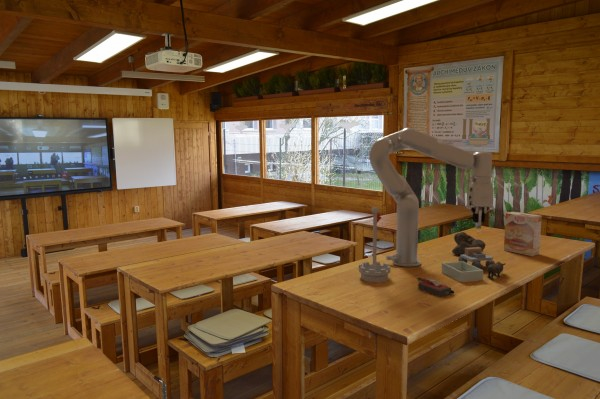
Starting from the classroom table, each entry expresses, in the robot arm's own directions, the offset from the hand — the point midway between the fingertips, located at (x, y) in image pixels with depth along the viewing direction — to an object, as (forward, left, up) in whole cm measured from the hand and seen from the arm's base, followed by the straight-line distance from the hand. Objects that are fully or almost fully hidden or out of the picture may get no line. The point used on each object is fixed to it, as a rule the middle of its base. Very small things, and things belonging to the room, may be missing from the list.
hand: (478, 221), depth 206 cm
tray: (-14, -9, -21) cm, 26 cm away
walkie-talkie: (-34, -20, -21) cm, 45 cm away
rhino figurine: (+1, -13, -21) cm, 25 cm away
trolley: (0, +1, -21) cm, 21 cm away
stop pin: (0, 0, -3) cm, 3 cm away
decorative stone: (+11, +21, -21) cm, 32 cm away
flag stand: (-50, -1, -21) cm, 54 cm away
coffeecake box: (+37, +17, -21) cm, 46 cm away
